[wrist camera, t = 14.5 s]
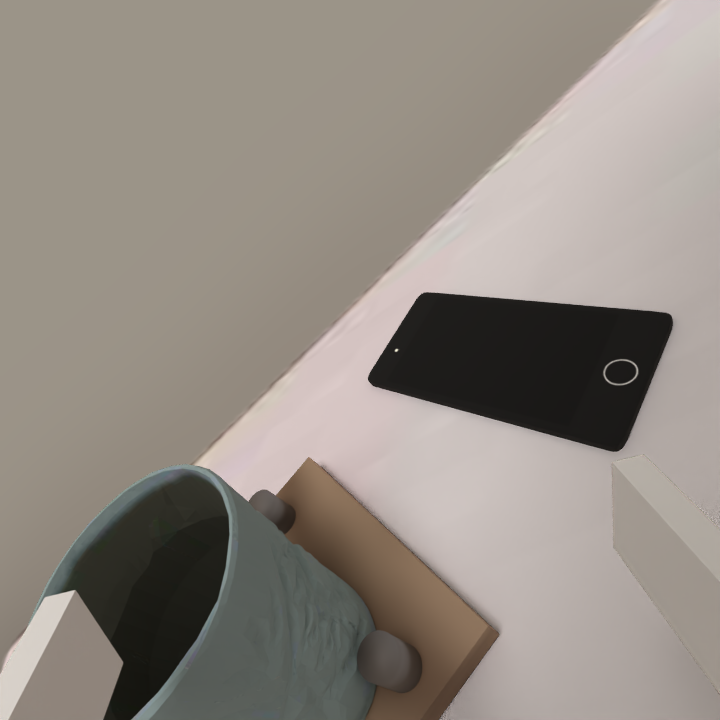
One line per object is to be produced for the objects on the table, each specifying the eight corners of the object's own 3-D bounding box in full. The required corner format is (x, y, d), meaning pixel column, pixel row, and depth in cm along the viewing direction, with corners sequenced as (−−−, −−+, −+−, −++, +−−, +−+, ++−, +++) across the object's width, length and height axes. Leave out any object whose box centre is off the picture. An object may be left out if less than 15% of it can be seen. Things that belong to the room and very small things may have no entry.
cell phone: (623, 457, 26) (619, 448, 25) (370, 387, 38) (364, 380, 38) (677, 323, 29) (675, 312, 28) (425, 298, 41) (420, 290, 41)
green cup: (205, 767, 25) (-36, 741, 18) (260, 560, 31) (98, 473, 24) (383, 813, 20) (155, 804, 13) (407, 556, 26) (263, 446, 19)
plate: (321, 466, 35) (287, 439, 33) (499, 634, 23) (468, 611, 21) (112, 714, 32) (57, 704, 30) (195, 1059, 20) (114, 1091, 18)
